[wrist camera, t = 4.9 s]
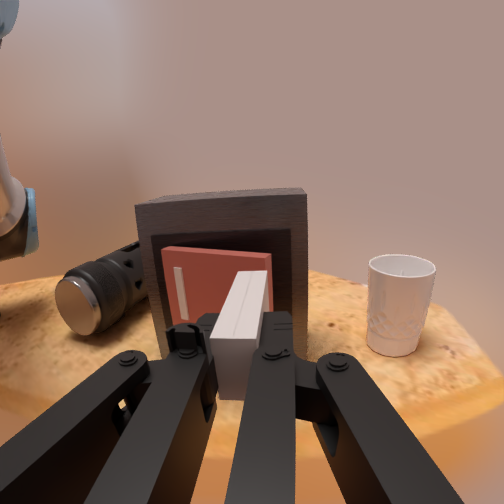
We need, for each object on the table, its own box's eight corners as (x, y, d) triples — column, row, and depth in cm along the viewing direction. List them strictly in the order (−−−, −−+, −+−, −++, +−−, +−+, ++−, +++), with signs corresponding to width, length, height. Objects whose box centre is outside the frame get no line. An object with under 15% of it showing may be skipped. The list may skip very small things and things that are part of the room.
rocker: (172, 329, 28) (159, 250, 26) (181, 323, 30) (169, 246, 27) (267, 352, 24) (263, 258, 22) (274, 343, 25) (271, 253, 23)
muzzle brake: (195, 277, 61) (189, 226, 58) (108, 351, 35) (88, 277, 32) (155, 275, 63) (148, 227, 60) (63, 338, 37) (44, 272, 34)
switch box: (162, 365, 32) (133, 205, 27) (183, 330, 40) (164, 195, 35) (306, 369, 30) (306, 194, 25) (302, 330, 38) (301, 187, 33)
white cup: (371, 364, 30) (382, 279, 27) (354, 329, 37) (360, 255, 34) (432, 354, 29) (448, 274, 26) (408, 323, 37) (417, 252, 34)
